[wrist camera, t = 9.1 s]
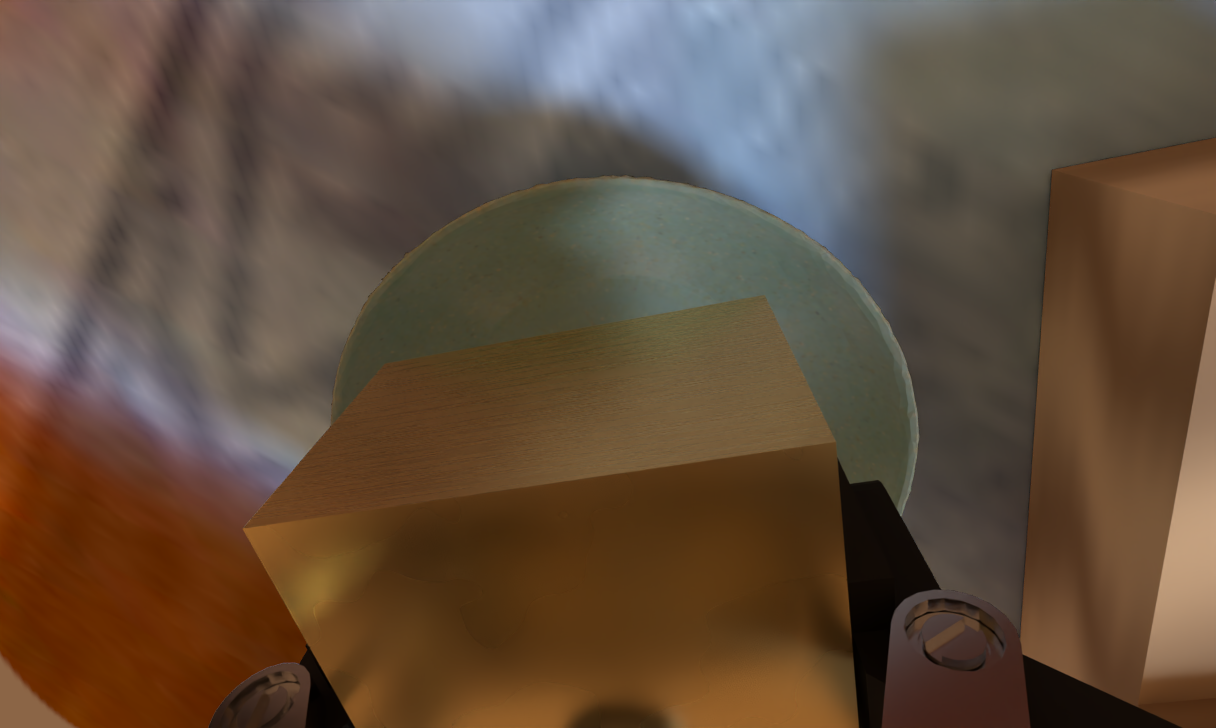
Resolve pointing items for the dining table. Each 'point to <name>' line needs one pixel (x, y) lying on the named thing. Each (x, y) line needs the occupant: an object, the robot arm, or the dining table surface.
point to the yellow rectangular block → (577, 535)
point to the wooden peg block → (1128, 434)
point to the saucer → (646, 297)
